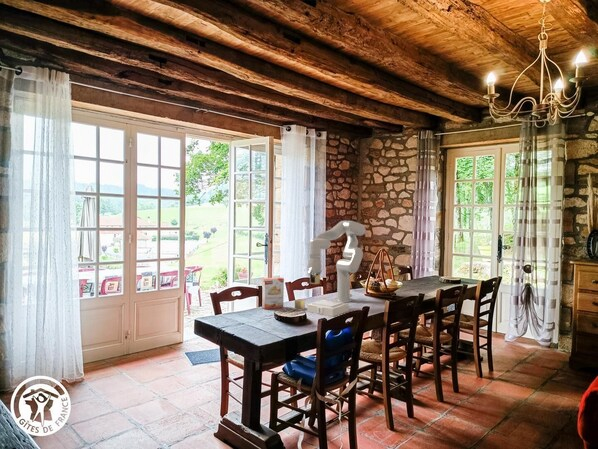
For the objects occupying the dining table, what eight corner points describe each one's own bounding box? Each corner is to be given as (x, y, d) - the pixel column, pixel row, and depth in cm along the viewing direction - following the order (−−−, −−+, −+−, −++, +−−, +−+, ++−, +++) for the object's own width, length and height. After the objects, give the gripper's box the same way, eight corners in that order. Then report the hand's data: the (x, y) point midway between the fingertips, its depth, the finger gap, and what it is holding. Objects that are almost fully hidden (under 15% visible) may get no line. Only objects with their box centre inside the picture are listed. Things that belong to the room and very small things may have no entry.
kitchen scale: (323, 306, 290) (323, 298, 290) (348, 310, 278) (348, 302, 278) (306, 312, 273) (306, 303, 273) (332, 316, 261) (332, 307, 261)
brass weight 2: (314, 282, 293) (314, 274, 293) (319, 283, 290) (319, 275, 290) (309, 283, 289) (309, 275, 289) (315, 284, 286) (315, 275, 286)
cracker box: (264, 309, 280) (264, 279, 280) (262, 307, 286) (262, 277, 285) (283, 308, 285) (284, 278, 285) (281, 306, 291) (281, 276, 290)
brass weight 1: (299, 307, 287) (299, 299, 287) (304, 308, 284) (305, 299, 284) (294, 308, 283) (294, 300, 283) (300, 309, 280) (300, 301, 280)
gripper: (317, 255, 298) (317, 280, 299) (303, 257, 285) (303, 283, 285) (326, 256, 294) (326, 281, 294) (312, 257, 280) (311, 284, 281)
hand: (314, 282), depth 290 cm, fingers closed on brass weight 2, 5 cm apart
